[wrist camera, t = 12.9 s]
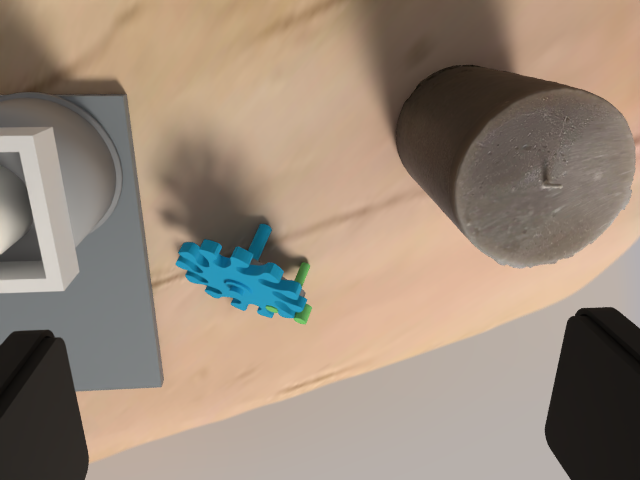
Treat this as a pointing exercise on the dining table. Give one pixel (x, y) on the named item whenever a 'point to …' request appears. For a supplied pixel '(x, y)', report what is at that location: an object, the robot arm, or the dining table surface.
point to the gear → (246, 277)
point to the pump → (13, 209)
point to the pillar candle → (517, 161)
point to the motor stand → (80, 238)
